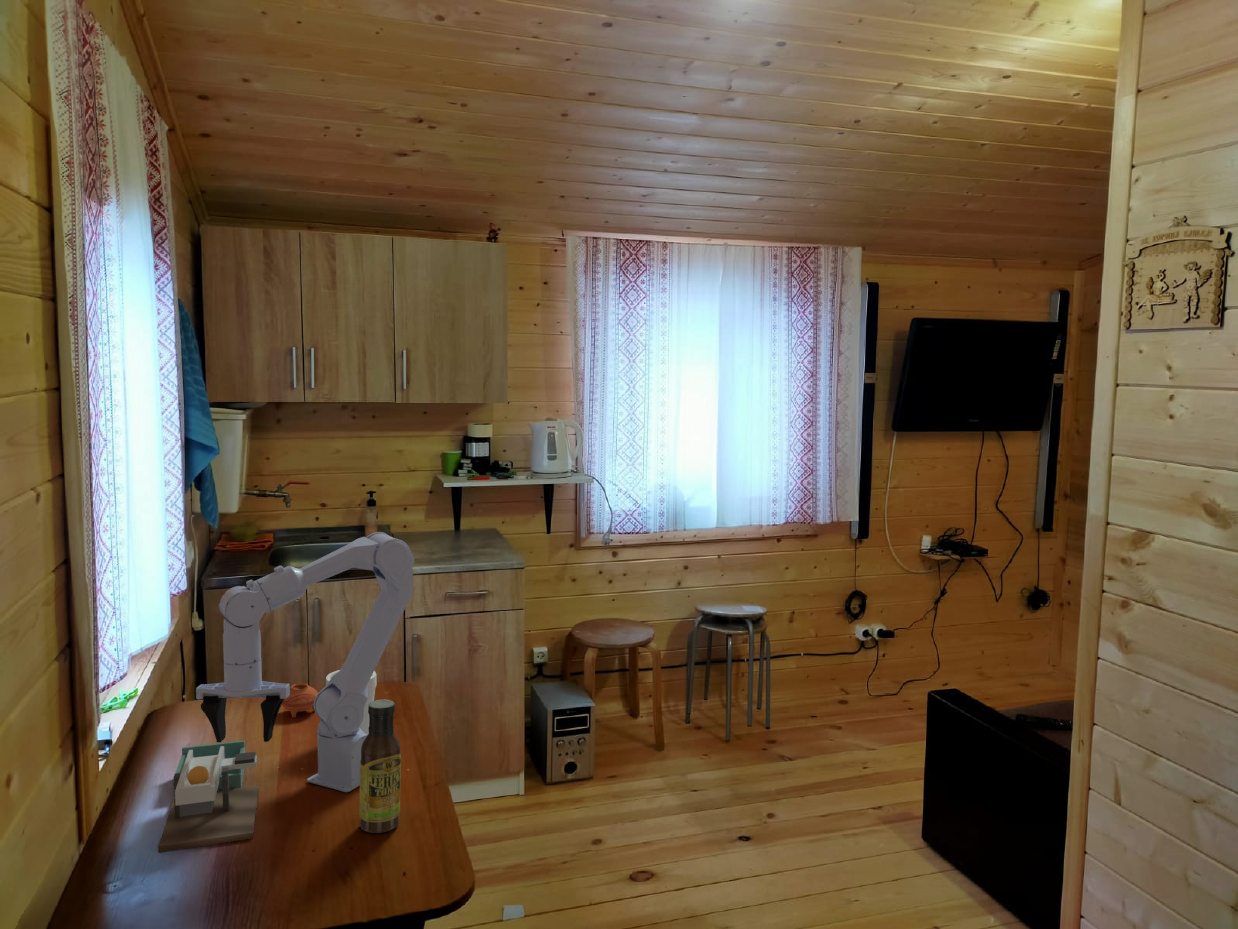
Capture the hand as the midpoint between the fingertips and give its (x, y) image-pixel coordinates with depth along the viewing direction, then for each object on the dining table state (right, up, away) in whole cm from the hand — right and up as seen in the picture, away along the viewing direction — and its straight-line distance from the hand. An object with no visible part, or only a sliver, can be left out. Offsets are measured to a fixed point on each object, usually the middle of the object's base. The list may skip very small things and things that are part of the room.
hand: (244, 739), depth 147 cm
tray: (-2, -7, -5) cm, 9 cm away
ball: (-3, -3, -10) cm, 10 cm away
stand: (-3, -11, -6) cm, 13 cm away
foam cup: (+10, -9, +26) cm, 29 cm away
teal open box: (-9, -10, +7) cm, 15 cm away
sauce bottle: (+25, -12, -7) cm, 28 cm away
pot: (-5, -7, +40) cm, 41 cm away
